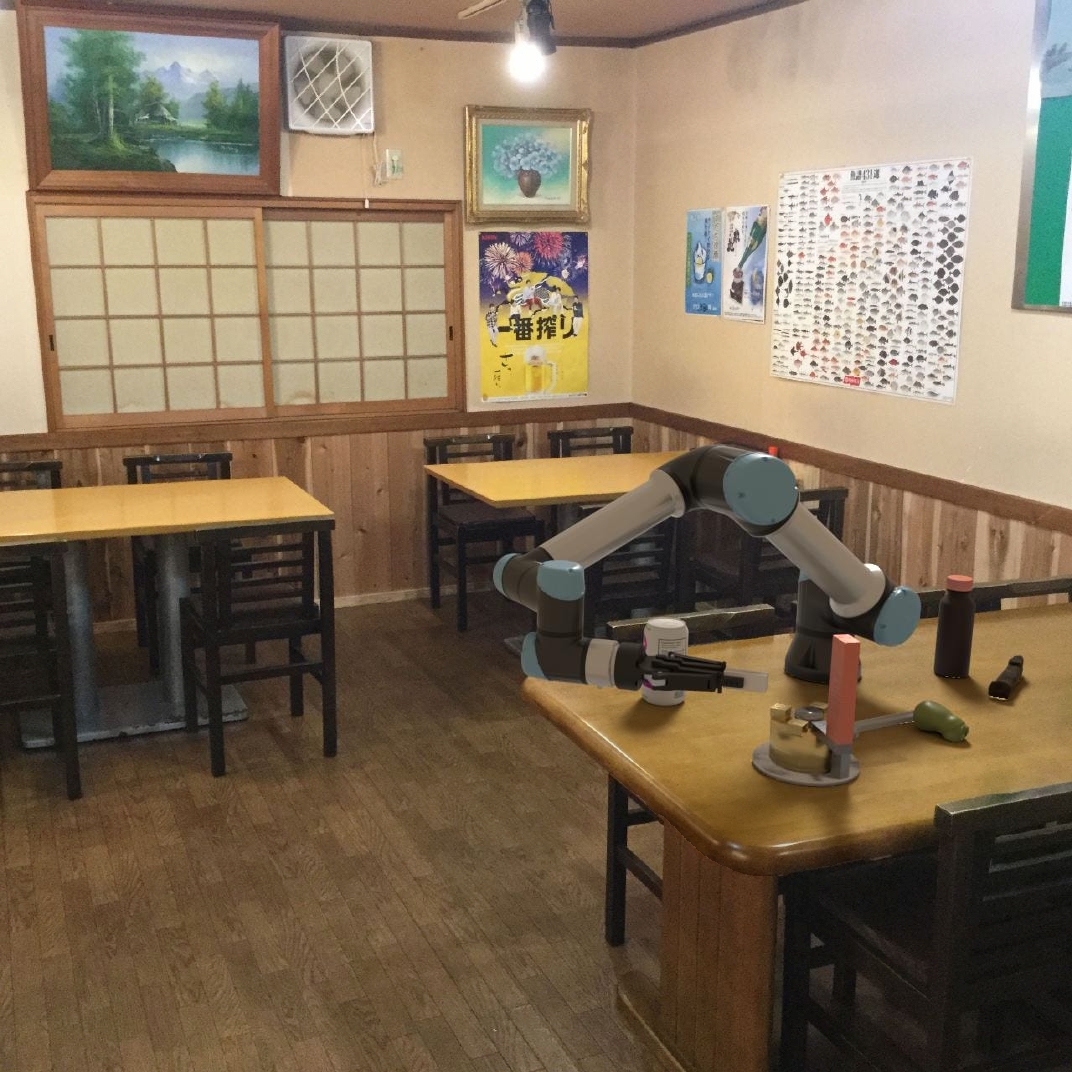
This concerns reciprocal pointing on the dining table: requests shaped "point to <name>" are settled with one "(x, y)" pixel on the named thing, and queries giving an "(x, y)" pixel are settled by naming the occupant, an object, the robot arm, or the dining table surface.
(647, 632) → the supplement can
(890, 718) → the adjustable wrench
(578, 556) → the robot arm
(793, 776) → the spindle base
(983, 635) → the dining table surface
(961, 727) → the pear
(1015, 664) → the dark brown bar
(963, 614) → the bottle
